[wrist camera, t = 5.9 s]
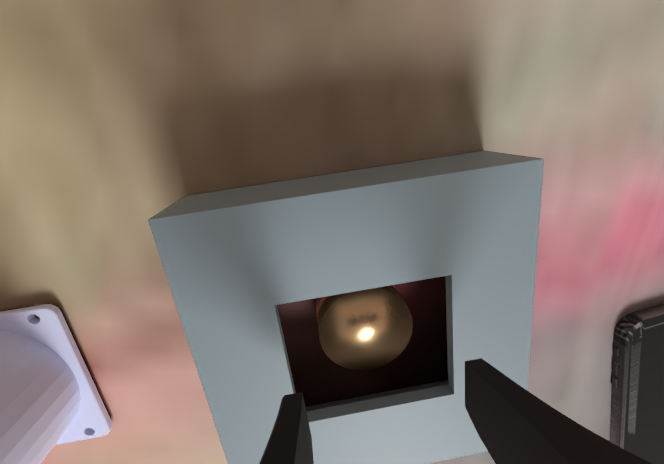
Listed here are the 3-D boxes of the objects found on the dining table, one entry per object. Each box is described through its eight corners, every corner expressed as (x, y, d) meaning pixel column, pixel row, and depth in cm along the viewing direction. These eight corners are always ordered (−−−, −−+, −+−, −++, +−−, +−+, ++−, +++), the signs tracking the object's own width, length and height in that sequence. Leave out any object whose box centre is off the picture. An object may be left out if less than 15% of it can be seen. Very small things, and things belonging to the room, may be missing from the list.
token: (321, 339, 19) (326, 377, 16) (309, 268, 17) (312, 297, 14) (397, 325, 19) (415, 360, 16) (391, 255, 17) (410, 280, 15)
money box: (251, 428, 19) (240, 501, 16) (185, 195, 15) (148, 219, 11) (480, 383, 20) (523, 443, 16) (483, 150, 16) (543, 158, 12)
